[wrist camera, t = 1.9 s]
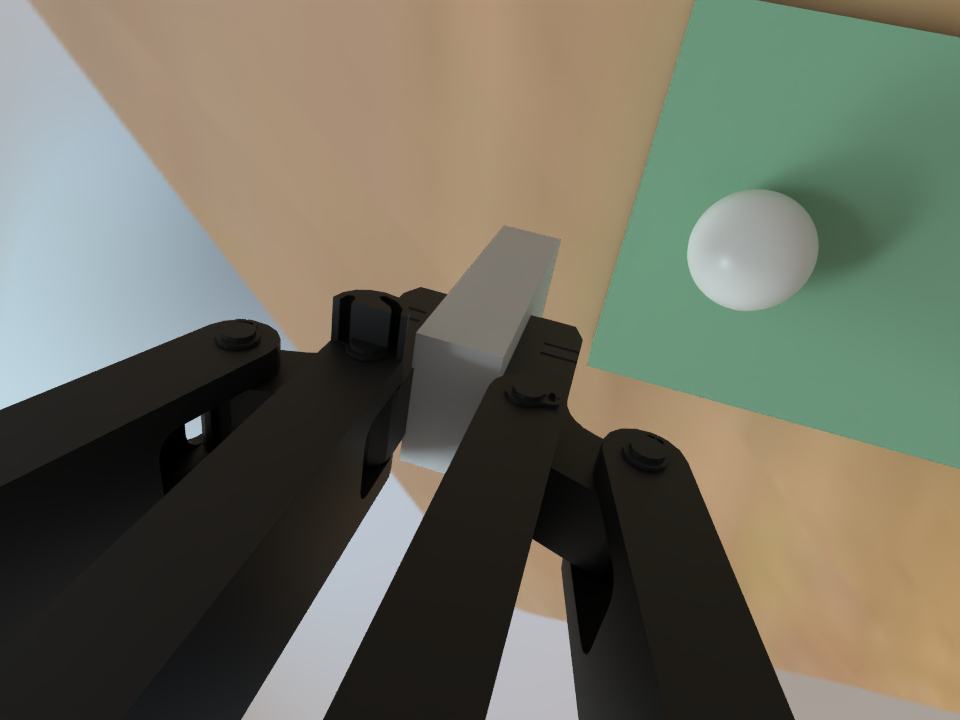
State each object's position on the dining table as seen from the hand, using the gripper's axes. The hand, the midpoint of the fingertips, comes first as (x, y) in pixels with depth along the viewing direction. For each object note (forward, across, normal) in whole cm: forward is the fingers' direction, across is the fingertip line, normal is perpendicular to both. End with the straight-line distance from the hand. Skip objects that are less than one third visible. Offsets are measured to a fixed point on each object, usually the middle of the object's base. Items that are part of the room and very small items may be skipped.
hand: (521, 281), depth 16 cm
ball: (+6, +6, 0) cm, 9 cm away
